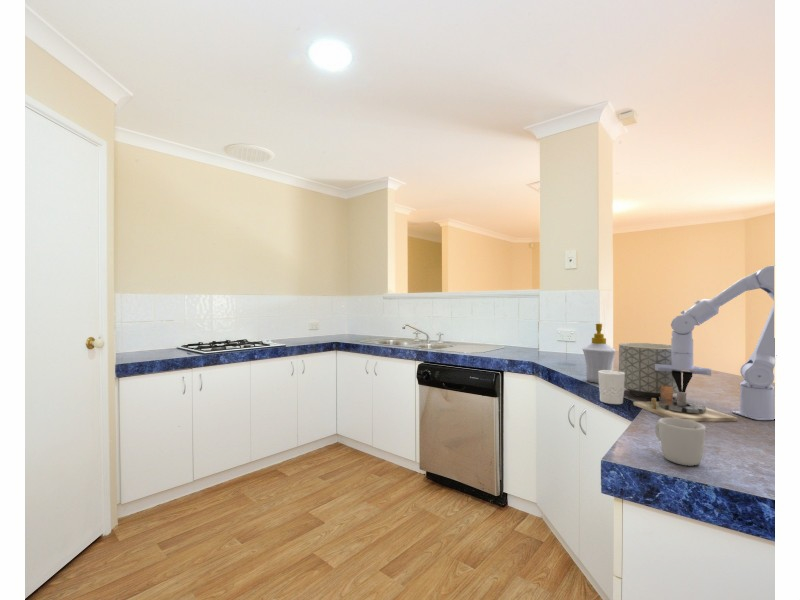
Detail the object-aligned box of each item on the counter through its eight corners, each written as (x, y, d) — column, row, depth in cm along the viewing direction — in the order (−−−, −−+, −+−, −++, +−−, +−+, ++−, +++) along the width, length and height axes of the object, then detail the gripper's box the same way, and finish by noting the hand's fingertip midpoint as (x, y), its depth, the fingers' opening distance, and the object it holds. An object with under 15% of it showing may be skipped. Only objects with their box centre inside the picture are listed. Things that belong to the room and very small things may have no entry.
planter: (639, 388, 152) (639, 342, 152) (693, 399, 134) (693, 347, 135) (607, 392, 143) (607, 343, 144) (660, 405, 126) (660, 349, 126)
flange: (714, 413, 111) (714, 396, 111) (672, 412, 113) (672, 394, 113) (682, 400, 126) (682, 385, 126) (645, 399, 128) (645, 384, 128)
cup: (640, 449, 87) (640, 413, 87) (673, 448, 88) (673, 413, 88) (678, 470, 76) (679, 429, 76) (716, 468, 77) (716, 428, 77)
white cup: (628, 405, 125) (628, 374, 125) (602, 404, 127) (602, 373, 127) (619, 399, 133) (620, 370, 133) (595, 398, 134) (595, 369, 135)
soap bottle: (616, 381, 166) (616, 323, 166) (614, 386, 155) (615, 324, 155) (584, 377, 172) (584, 322, 173) (580, 382, 162) (580, 323, 162)
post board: (686, 404, 127) (686, 386, 127) (736, 421, 109) (736, 399, 109) (633, 404, 126) (633, 386, 126) (675, 421, 108) (675, 400, 108)
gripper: (710, 353, 123) (710, 396, 123) (656, 349, 132) (655, 389, 132) (711, 355, 117) (711, 400, 117) (654, 351, 126) (654, 393, 126)
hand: (682, 395), depth 124 cm, fingers closed
